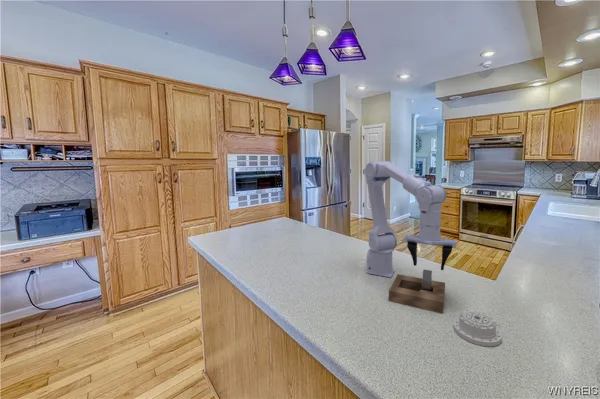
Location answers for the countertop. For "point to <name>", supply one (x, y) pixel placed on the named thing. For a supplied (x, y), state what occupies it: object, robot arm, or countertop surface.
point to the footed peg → (427, 280)
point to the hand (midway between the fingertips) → (428, 266)
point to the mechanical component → (477, 328)
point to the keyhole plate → (417, 293)
